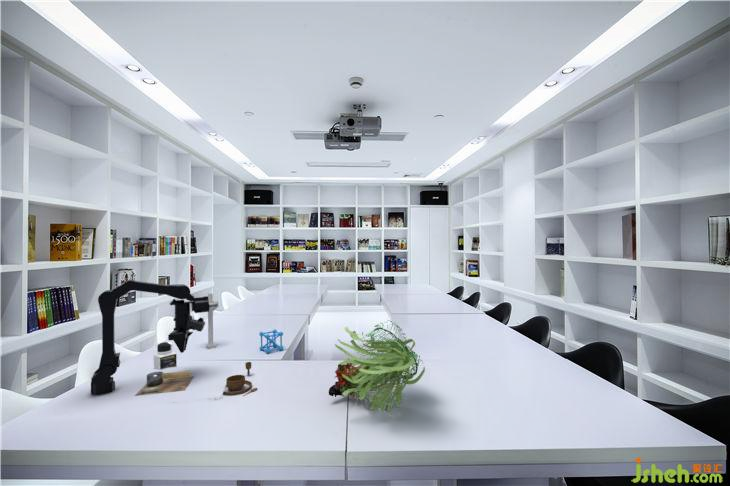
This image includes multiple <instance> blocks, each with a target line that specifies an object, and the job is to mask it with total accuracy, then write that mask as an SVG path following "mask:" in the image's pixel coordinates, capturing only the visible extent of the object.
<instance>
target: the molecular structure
mask: <svg viewBox="0 0 730 486" xmlns="http://www.w3.org/2000/svg"><path fill="white" fill-rule="evenodd" d="M258 335H259V336H260V346H259V350H260V351H264V352H265V354H270V352H274V351H283V350H284V346H283V339H282V338H283V335H284V332H283V331H280V332H279V331H277V329H273V330H272V331H266V332H263V331H260V332H259V334H258ZM263 337H264V338H265V339H266V344H263ZM278 337H280V345H278V344H277V343H276V341H277V340H276V339H277V338H278ZM272 347H273V349H270V348H272Z"/></svg>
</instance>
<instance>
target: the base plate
mask: <svg viewBox="0 0 730 486" xmlns="http://www.w3.org/2000/svg"><path fill="white" fill-rule="evenodd" d="M194 378H195V375H194V376H192V375H191V376H189V377H179V378H168V379H163V383H161V384H159V385H155V386H147V383H146V384H145V385H144V386H143V387H142V388H140V390H138V392H136V393H135V394H134V397H137V396H139V397H140V396H146V395H156V394H157V395H158V394H165V393H172V392H173V393H175V392H185V391H186V390H187V388H188V387H189V385H190V384H191V382H192V381H193V379H194Z"/></svg>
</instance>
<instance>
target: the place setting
mask: <svg viewBox="0 0 730 486" xmlns="http://www.w3.org/2000/svg"><path fill="white" fill-rule="evenodd" d="M244 365H245V369H246V370H247V372H246V373H247V376H248V377H250V376H251V375H250V374H251V372H250V370H251V369H252V362H251V361H247V362H245V363H244ZM245 385H247V386H248V387H247V388H244V389H242V388H243V387H244V386H245ZM252 385H253V383H252V381H250V380H247V379H246V376H245V375H244V374H235V375H230V376H228V377H227V378H226V384H225V387H224V388H228V389H229V390H230V391H223V392H222V395H225V396H226V395H227V396H236V395H240V394H243V393H245V394H244V395H242V397H245V396H247V395H248V394H250V393H254V392H256V391H257V390H258V387H254V388H252ZM251 388H252V389H251ZM249 390H250V391H249ZM247 391H248V392H247Z"/></svg>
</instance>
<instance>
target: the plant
mask: <svg viewBox="0 0 730 486" xmlns="http://www.w3.org/2000/svg"><path fill="white" fill-rule="evenodd" d="M387 322H390V325H387V326H386V329H385V328H384V323H383V322H380V325H379V324H375V325H374V329H373V330H372V331H370V332H369V333H367V334H365V335H364V331H362V332H361V336H362V337H359V336H360V334H357V332H356V330H351V331H350V329H349V327H348V326H346V327H344V330H345V332H347V333H348V334H349V336H350V337H351V340H350V341H349V342H350V343H351V344H349V343H346V342H343V341H341V340H340V339H339V338H337V341H338V342H339V343H340V344H341V345H343V346H346V347H347V348H350V349H351V350H353V351H354V352H357V354H359V355H360V356H361V355H364V357H365V358H361V357H360V358H359V357H357V356H356V355H353V354H351V353H350V352H349V351H348V350H346V349H345V348H342V347H341V346H340V345H337V344H336V343H334V346H335V348H337V349H338V350H340V351H341V352H343V353H344V354H345V355H347V359H345V360H343V361H340V362H339V363H338V364H337V368H336V370H335V371H334V374H335V376H334V378H337V380H338V381H335V382H334V384H333V385H331V386H330V387H329V389H328V396H331V397H335V398H336V397H337V396H341V397H345V396H346V395H348V398H349V399H350V398H351V397H352V399H356V402H355V405H354V406H356V405H357V403H358V401H359V400H360V401H361V405H362V406H361V407H362V410H363V408H364V406H365V405H366V404H365V403H366V402H367V403H369V404H370V405H371V406H370V408H369V411H374V410H376V411H377V410H380V412H383V413H385V414H387V415H389V416H390V417H391V418H394V416H393V415H391V414H389V413H390V412H391V411H392V409H395V410H397V411H400V412H402V413H406V411H404V410H401V409H399V408H401V406H402V403H404V402H405V401H402V400H403V397H402V394H403V390H404V389H405V388H406V385H414V384H416V383H418V382H419V381H420V380H421V378H422V377H423V375H424V374H425V372H426V368H425V366H423V369H422V370H421V372H420V374H418V370H419V365H420V362H421V363H422V364H424V362H423V360H422V359H420V358H421V356H420V355H419V354H417V353H416V352H415V351H414V350H413V348H414V347H415V346H416V342H415V341H414V339H412V338H409V339H407V337H406V334H405V333H403V328H401V327H400V326H399V325H398V324H396V322H393V321H392V320H389V319H388V320H387ZM381 324H382V326H381ZM393 325H394V328H393ZM389 326H390V329H389ZM395 328H396V330H395ZM392 329H393V332H391V330H392ZM381 331H382V332H381ZM394 331H395V333H397V334H395V333H394ZM397 331H398V332H397ZM386 332H388V333H386ZM377 333H379V334H377ZM376 334H377V335H376ZM402 335H403V337H401V336H402ZM366 337H367V338H368V337H370V339H365V338H366ZM378 337H379V338H378ZM356 341H357V342H358V341H359V342H362V344H358V343H357V342H356ZM409 343H412V344H411V347H410V345H408V344H409ZM364 347H365V348H364ZM348 357H349V358H348ZM350 358H351V359H350ZM417 374H418V376H417V377H415V378H414V376H416V375H417ZM413 378H414V379H413ZM411 379H412V380H411ZM393 390H394V391H393ZM367 395H368V396H367ZM369 396H371V397H369ZM390 396H391V397H390ZM365 398H367V399H368V400H369V401H368V400H366V399H365ZM358 399H359V400H358ZM388 400H389V402H388ZM365 401H366V402H365ZM394 401H395V402H396V405H397V406H398V408H395V407H393V403H394ZM363 402H364V404H363ZM387 402H388V403H387ZM386 406H387V409H386ZM385 409H386V411H388V412H386V411H385Z"/></svg>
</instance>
